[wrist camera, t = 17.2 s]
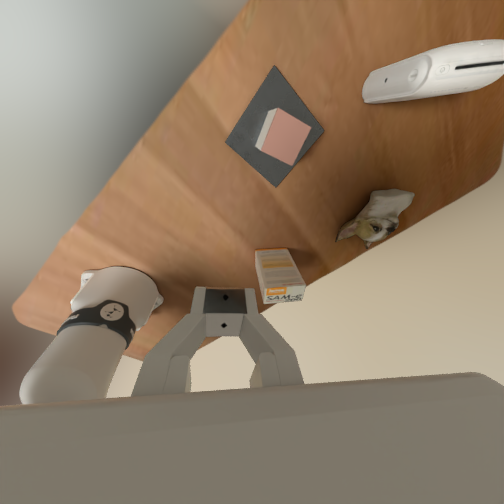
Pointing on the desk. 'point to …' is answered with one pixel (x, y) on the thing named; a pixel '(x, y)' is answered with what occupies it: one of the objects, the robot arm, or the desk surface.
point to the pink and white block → (282, 136)
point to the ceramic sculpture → (377, 216)
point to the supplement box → (278, 276)
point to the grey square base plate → (251, 122)
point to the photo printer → (437, 72)
